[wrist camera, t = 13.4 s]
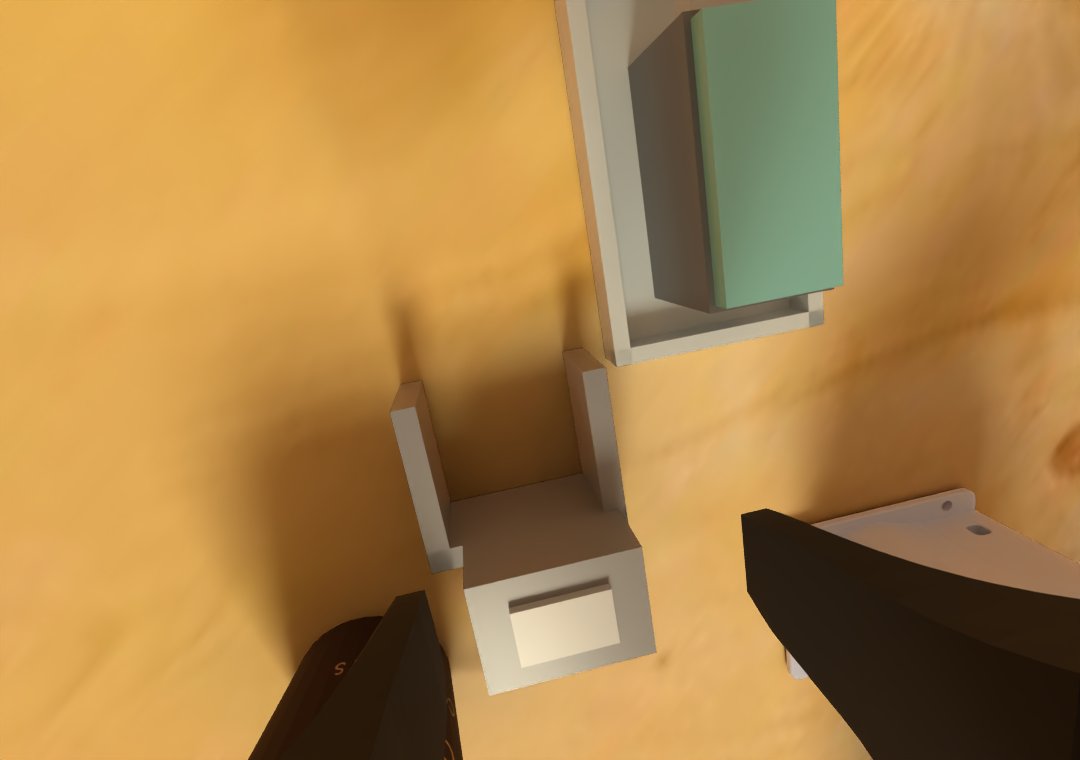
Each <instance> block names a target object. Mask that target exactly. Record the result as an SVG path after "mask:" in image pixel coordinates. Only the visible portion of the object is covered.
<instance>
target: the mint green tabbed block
mask: <svg viewBox="0 0 1080 760" xmlns="http://www.w3.org/2000/svg"><path fill="white" fill-rule="evenodd" d="M673 8H674V19H675V20H674V21H673V22H672V23H671V24H670V25H669V26H668V27H667V28H666V29H665V30H664V31H663V32H662V33H661V34H660V35H659V36H658V37H657V38H656V39H655V40H654V41H653V42H652V43H651V44H650V45H649V46H648V47H647V48H646V49H645V50H644V51H643V52H642V53H641V54H640V55H639V56H638V57H637V58H636V59H635V61H634V62H633V63H632V64H631V65H630V66H629V67H628V75H629V83H630V92H631V100H632V109H633V117H634V126H635V134H636V143H637V151H638V160H639V168H640V177H641V185H642V194H643V202H644V211H645V219H646V228H647V236H648V245H649V254H650V262H651V271H652V279H653V288H654V296H655V298H656V299H660V300H663V301H667V302H670V303H674V304H677V305H681V306H684V307H688V308H691V309H695V310H698V311H701V312H705V313H708V314H712V313H717V312H722V311H727V310H732V309H737V308H742V307H747V306H752V305H757V304H762V303H767V302H772V301H777V300H782V299H787V298H792V297H797V296H802V295H807V294H811V293H816V292H821V291H826V290H831V289H834V287H838V286H843V256H842V218H841V179H840V140H839V102H838V63H837V24H836V0H675V1H674V2H673Z"/></svg>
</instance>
